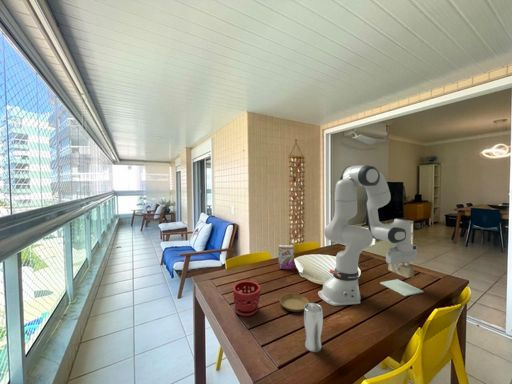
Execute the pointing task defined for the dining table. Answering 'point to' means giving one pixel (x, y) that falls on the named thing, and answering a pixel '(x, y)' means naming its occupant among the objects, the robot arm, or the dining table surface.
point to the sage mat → (401, 287)
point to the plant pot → (246, 298)
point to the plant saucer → (293, 302)
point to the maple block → (402, 270)
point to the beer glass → (313, 326)
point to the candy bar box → (286, 257)
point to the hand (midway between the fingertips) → (401, 269)
